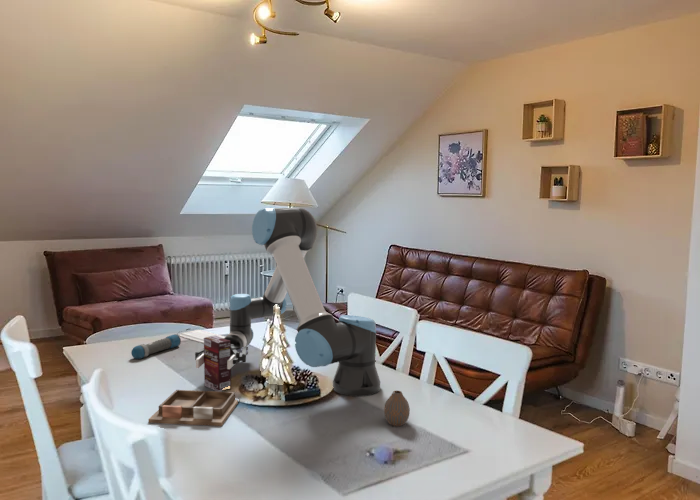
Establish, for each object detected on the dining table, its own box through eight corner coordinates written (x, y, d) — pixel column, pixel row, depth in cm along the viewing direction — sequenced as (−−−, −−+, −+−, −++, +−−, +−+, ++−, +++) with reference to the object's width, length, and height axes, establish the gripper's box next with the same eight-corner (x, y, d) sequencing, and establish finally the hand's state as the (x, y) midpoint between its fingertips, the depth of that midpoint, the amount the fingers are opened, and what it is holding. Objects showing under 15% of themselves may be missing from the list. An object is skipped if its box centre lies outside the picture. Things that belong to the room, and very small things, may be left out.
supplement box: (203, 386, 184) (202, 337, 183) (216, 382, 188) (216, 334, 186) (218, 393, 178) (217, 342, 177) (231, 389, 182) (231, 340, 180)
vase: (388, 429, 154) (389, 397, 153) (380, 419, 160) (381, 388, 159) (413, 426, 156) (414, 395, 155) (404, 417, 162) (404, 386, 161)
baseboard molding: (222, 352, 225) (246, 346, 234) (222, 344, 225) (246, 339, 234) (175, 338, 244) (199, 332, 254) (175, 331, 244) (199, 326, 253)
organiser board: (239, 401, 172) (239, 388, 171) (221, 426, 154) (221, 411, 154) (173, 398, 173) (173, 385, 173) (148, 422, 156) (148, 408, 155)
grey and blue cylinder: (181, 347, 230) (181, 334, 229) (139, 361, 210) (138, 348, 210) (171, 345, 232) (171, 333, 231) (128, 359, 212) (128, 346, 212)
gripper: (264, 356, 200) (247, 377, 177) (202, 354, 201) (178, 374, 179) (264, 335, 199) (247, 353, 177) (201, 333, 200) (177, 351, 178)
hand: (212, 364), depth 178 cm, fingers closed on supplement box, 9 cm apart
